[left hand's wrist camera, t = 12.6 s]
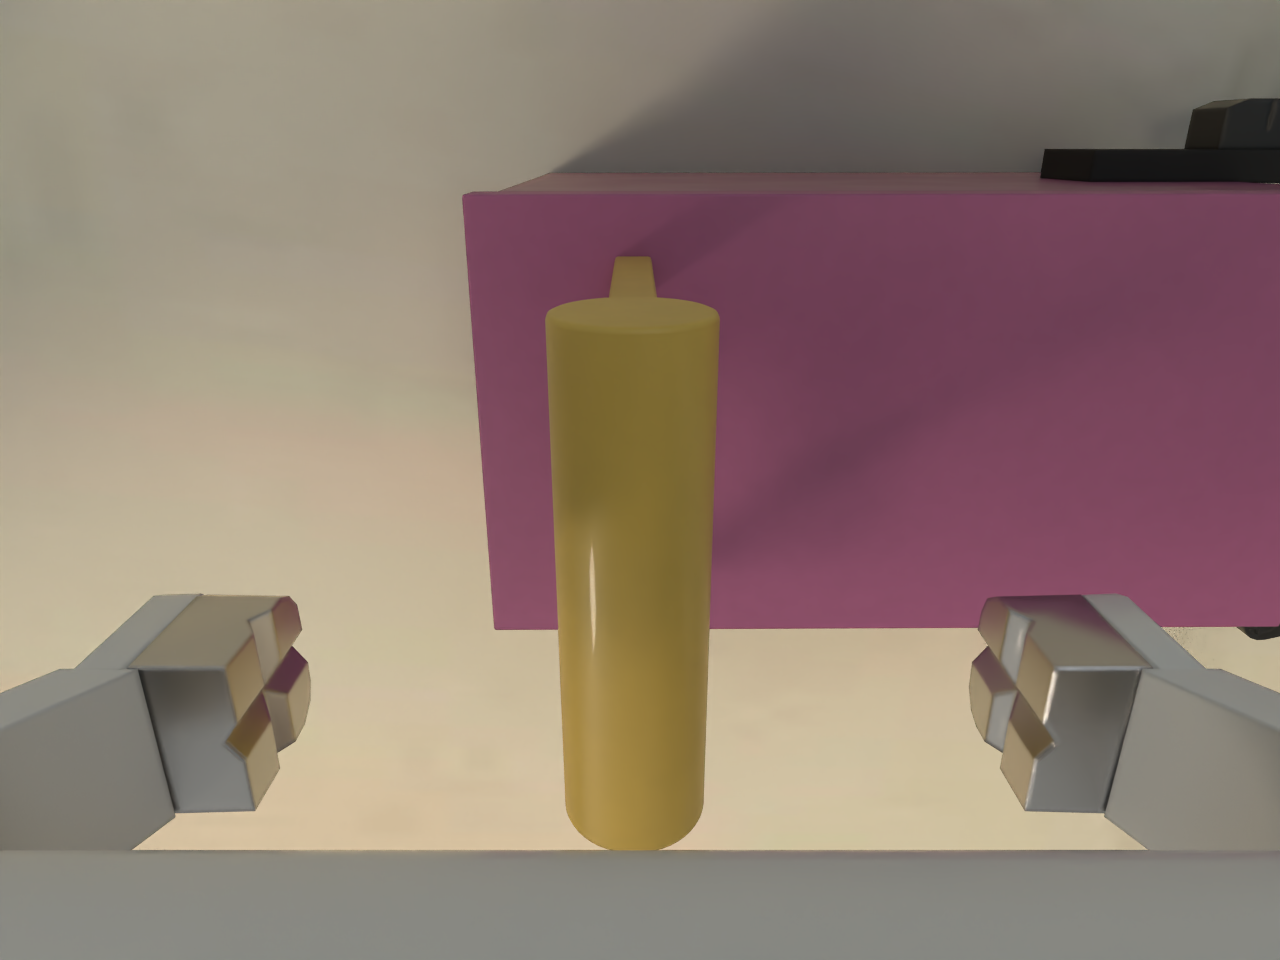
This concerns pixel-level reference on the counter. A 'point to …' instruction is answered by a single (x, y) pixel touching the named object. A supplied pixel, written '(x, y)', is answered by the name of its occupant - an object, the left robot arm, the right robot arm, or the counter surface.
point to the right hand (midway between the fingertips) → (1032, 359)
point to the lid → (856, 431)
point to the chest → (852, 182)
